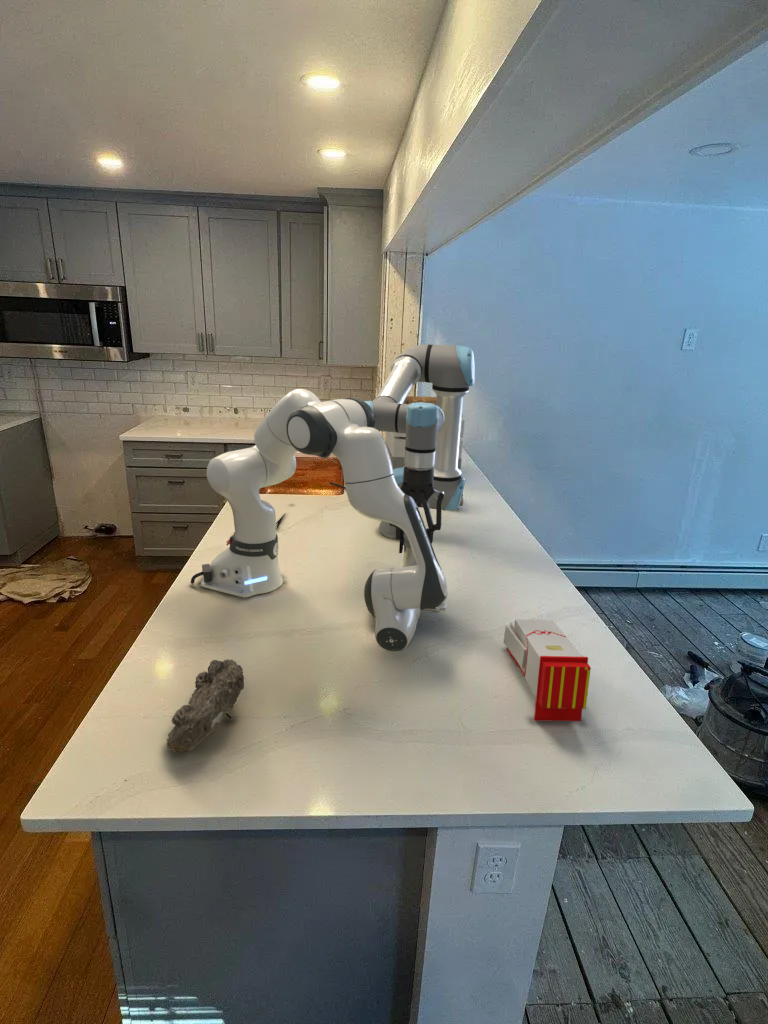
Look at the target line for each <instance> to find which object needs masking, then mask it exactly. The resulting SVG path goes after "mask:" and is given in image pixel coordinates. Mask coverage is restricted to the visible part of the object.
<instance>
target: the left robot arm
mask: <svg viewBox="0 0 768 1024" xmlns="http://www.w3.org/2000/svg"><path fill="white" fill-rule="evenodd" d="M364 401H365V400H363V399H361V398H355V397H343V398H340V399H339V398H338V399H337V398H336V399H335V398H334V399H328V400H325V401H321V400H320V398H319V397H318V396H317V395H316V394H315V393H314V392H313V391H311V390H309V389H305V388H295V389H292V390H290V391H289V392H288V393H286V394H285V395H284V396H282V398H280V399H279V400H278V402H276V403H275V405H274V406H273V407H271V409H270V410H269V412H268V413H267V414H266V416H265V417H264V418H263V420H262V421H261V422H260V423H259V425H258V426H257V427H256V429H255V431H254V434H253V438H254V444H255V445H253V446H249V447H246V448H241V449H236V450H230V451H226V452H224V453H221V454H219V455H217V456H215V457H212V458H211V459H210V460H209V462H208V464H207V466H206V479H207V483H208V484H209V486H210V488H211V489H212V490H213V491H214V492H215V493H217V494H218V495H220V496H222V497H223V498H224V499H225V500H226V501H227V502H228V504H229V506H230V509H231V511H232V517H233V525H234V526H233V527H234V532H233V534H231V536H229V539H228V540H227V541H226V546H229V547H228V548H226V549H225V550H223V551H222V552H220V553H219V554H218V555H217V556H215V557H214V558H213V559H212V560H211V563H204V564H201V571H200V572H197V573H195V574H194V575H193V576H191V580H190V584H191V585H194V584H195V580H196V579H197V578H198V577H201V576H202V578H201V581H200V586H201V587H202V588H205V589H209V590H212V591H216V592H221V593H224V594H227V595H232V596H236V597H239V598H243V599H245V598H246V599H247V598H249V597H253V596H256V595H260V594H261V595H262V594H266V593H270V592H272V591H276V590H277V589H278V588H280V587H281V586H282V585H283V583H284V579H283V576H282V573H281V568H280V565H279V564H280V563H279V559H278V558H279V557H278V555H279V537H278V534H277V530H276V529H277V524H276V523H277V517H276V516H277V514H276V513H277V512H276V509H275V508H274V506H273V505H272V504H271V503H269V502H268V501H266V500H264V499H261V495H260V489H263V488H267V487H271V486H275V485H278V484H280V483H283V482H285V481H287V480H289V479H290V478H292V477H293V476H294V474H295V472H296V469H297V459H296V456H295V455H296V453H297V452H299V453H301V454H304V455H308V456H316V457H319V458H321V459H327V458H329V457H330V456H331V455H333V456H335V457H336V458H337V460H338V461H339V463H340V467H341V470H342V477H343V482H344V487H345V488H346V489H345V492H346V496H347V499H348V501H349V502H348V503H349V504H350V505H351V507H352V508H353V509H354V510H355V511H356V512H358V513H359V514H360V515H362V516H364V517H366V518H369V519H372V520H377V521H379V522H382V521H384V522H388V523H391V524H394V525H396V526H398V527H400V528H401V529H402V530H403V531H404V532H405V533H406V535H407V537H408V540H409V542H410V545H411V548H412V550H413V553H414V556H415V559H416V561H417V565H415V566H407V567H403V566H400V567H399V566H398V567H397V566H396V567H385V568H378V569H373V571H372V572H371V573H369V575H368V577H367V578H366V581H365V584H364V587H363V588H364V589H363V597H364V598H363V599H364V603H365V606H366V609H367V611H368V613H369V614H370V616H371V617H372V618H373V619H374V620H375V631H374V637H375V641H376V643H377V645H378V646H379V647H380V648H382V649H383V650H385V651H388V652H400V651H402V650H404V649H406V648H407V647H408V646H409V645H410V643H411V641H412V640H413V638H414V635H415V632H416V629H417V626H418V625H417V623H418V621H419V619H420V615H421V612H427V613H434V614H436V613H438V614H439V613H441V612H445V611H446V610H447V607H448V605H447V602H448V582H447V578H446V576H445V574H444V572H443V569H442V567H441V565H440V562H439V560H438V558H437V556H436V552H435V550H434V547H433V544H432V543H431V542H430V539H429V536H428V533H427V530H426V529H427V528H426V525H425V522H424V520H423V517H422V515H421V512H420V510H419V508H418V507H417V505H416V503H415V501H414V500H413V498H412V497H411V496H409V495H406V494H404V493H403V491H402V490H401V489H400V488H399V486H398V484H397V482H396V480H395V476H394V471H393V467H392V462H391V458H390V455H389V452H388V449H387V446H386V443H385V442H386V441H385V438H384V436H383V434H382V432H381V431H378V430H377V429H374V424H375V419H374V414H373V411H372V409H371V408H370V406H369V405H368V404H367V403H366V402H364Z"/></svg>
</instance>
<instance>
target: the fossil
mask: <svg viewBox="0 0 768 1024" xmlns="http://www.w3.org/2000/svg"><path fill="white" fill-rule="evenodd" d="M243 670H244V669H243V667H242V665H240V664H237V662H236V661H235V660H234V659H232V658H231V659H227V658H226V659H224V660H223V661H222V660H217V659H212V660H211V661H210V663H209V665H208V666H207V671H201V672H199V673H198V674H197V675H196V676H195V680H194V684H195V685H194V687H195V689H194V690H193V693H192V694H191V697H190V698H189V700H188V704H184V705H182V706H181V707H180V709H177V710H176V711H175V713H174V715H173V716H172V718H171V723H172V724H173V727H172V730H171V731H170V732H168V734H167V738H166V741H167V742H166V745H167V749H168V750H169V751H173V752H174V753H176V754H178V753H182V752H188V751H189V752H192V751H193V750H195V748H196V747H197V746H199V744H200V743H201V742H203V741H204V740H205V739H206V738H207V737H208V736H209V735H210V734H211V733H212V732H214V730H215V729H217V727H218V726H219V724H220V722H221V721H222V720H223V719H224V718H225V716H226V717H227V719H229V720H233V717H232V715H230V714H229V710H230V709H231V708H234V706H235V704H236V703H237V702H238V699H239V697H240V695H241V693H242V691H243V690H245V689H244V688H245V675H244V671H243Z"/></svg>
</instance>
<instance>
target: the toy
mask: <svg viewBox="0 0 768 1024" xmlns="http://www.w3.org/2000/svg"><path fill="white" fill-rule="evenodd" d="M503 644H504V645H505V647H506V650H507V653H508V654H509V656H510V657H511V658H512V660H513V662H514V663H515V665H516V667H517V668H518V669H519V671H520V672H521V674H522V676H523V677H524V678H525V681H526V683H527V684H528V686H529V688H530V690H531V692H532V694H533V695H534V697H535V706H534V717H533V720H534V721H536V722H539V721H540V722H582V716H583V715H582V714H583V709H587V704H588V703H587V701H588V695H589V685H590V677H591V669H592V666H590V664H589V657H588V656H582V654H581V653H580V652H579V651H578V649H576V647H575V646H574V645H573V643H572V642H571V641H570V640H569V639H568V637H567V636H566V635H565V634H564V633H563V631H562V630H561V629H560V628H559V626H558V625H557V624H556V623H555V621H554V620H553V619H524V618H523V619H521V618H518V619H516V618H515V619H514V621H510V622H509V624H506V625H505V629H504V637H503Z"/></svg>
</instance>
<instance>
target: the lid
mask: <svg viewBox="0 0 768 1024" xmlns="http://www.w3.org/2000/svg"><path fill="white" fill-rule="evenodd" d="M404 546H405V547H408V548H411V545H410V542H409V540H408V537H407V535H406V534H404V535H403V547H404Z"/></svg>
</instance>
